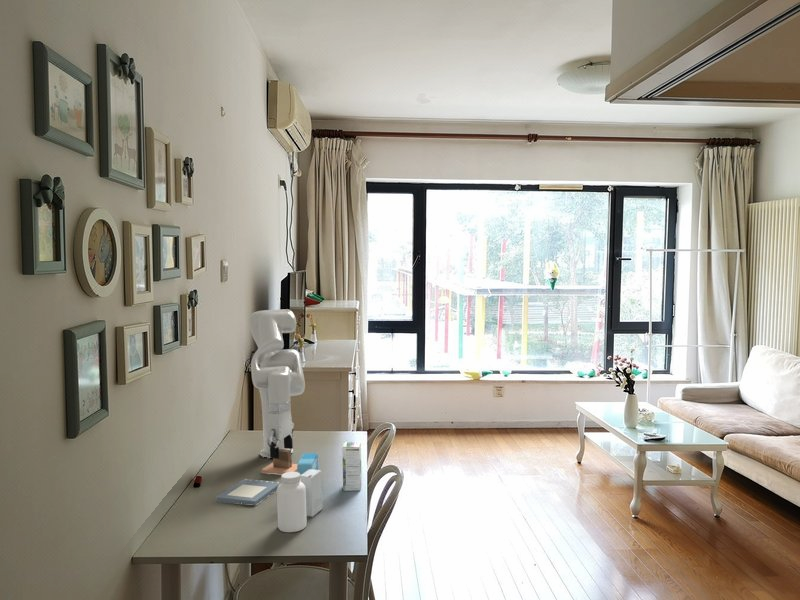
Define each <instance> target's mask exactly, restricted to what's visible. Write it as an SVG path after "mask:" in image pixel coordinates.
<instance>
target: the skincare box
mask: <svg viewBox="0 0 800 600" xmlns="http://www.w3.org/2000/svg"><path fill="white" fill-rule="evenodd" d="M300 476H301V479H300V480H301V481H300V482H302V483H303V484H304V485H305V488H306V517H308V516H310V517H309V518H311V517H312V518H314V516H316V515H317V514H318V513H319V512H320V511H322V510H323V485H322V483H323V481H322V480H323V479H322V477H323V475H322V470H321V469H318V470H314V469H309V470H308V471H306V472H305V473H303V474H302V475H300Z"/></svg>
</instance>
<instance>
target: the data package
mask: <svg viewBox="0 0 800 600" xmlns="http://www.w3.org/2000/svg"><path fill="white" fill-rule="evenodd" d="M297 464H298V465H297V472H298V473H300V475H302V474H303V473H305V472H306V471H308V470H309V469H314V470H319V457H318V453H317V452H315V453H314V452H313V453H312V452H309V453H308V452H307V453H303V454H301V457H300V459H299V461H298V462H297Z"/></svg>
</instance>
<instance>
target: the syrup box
mask: <svg viewBox="0 0 800 600" xmlns="http://www.w3.org/2000/svg"><path fill="white" fill-rule="evenodd" d="M341 449H342V486H343V487H342V490H343V492H354V491H362V484H363V479H362V478H363V477H362V474H363V473H362V442H360V441H346V442H343V445H342V448H341Z"/></svg>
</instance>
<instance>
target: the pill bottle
mask: <svg viewBox="0 0 800 600" xmlns="http://www.w3.org/2000/svg"><path fill="white" fill-rule="evenodd" d="M300 479H301V476H300V473H298V472H286V473H284V474H282V475H280V482H281V484H280V485H279V486H278V488H277V491H276V505H277V506H276V507H277V511H276V513H277V526H278V527H277V528H278V530H279V531H280V532H284V533H295V532H299V531H302V530H304V529H305V528H306V527H307V516H306V488H305V485H304V484H303V483H302V482H300V481H301V480H300Z"/></svg>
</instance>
